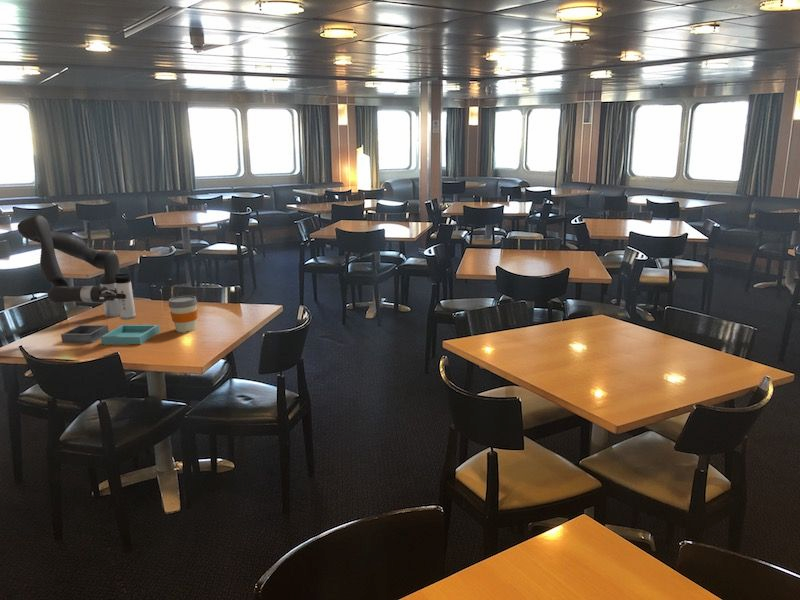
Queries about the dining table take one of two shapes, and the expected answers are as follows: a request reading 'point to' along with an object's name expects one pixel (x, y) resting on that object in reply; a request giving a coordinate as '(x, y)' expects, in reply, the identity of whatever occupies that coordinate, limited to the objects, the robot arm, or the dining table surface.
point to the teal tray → (130, 334)
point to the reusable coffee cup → (183, 312)
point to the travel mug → (126, 304)
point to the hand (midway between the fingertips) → (129, 294)
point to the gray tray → (84, 334)
